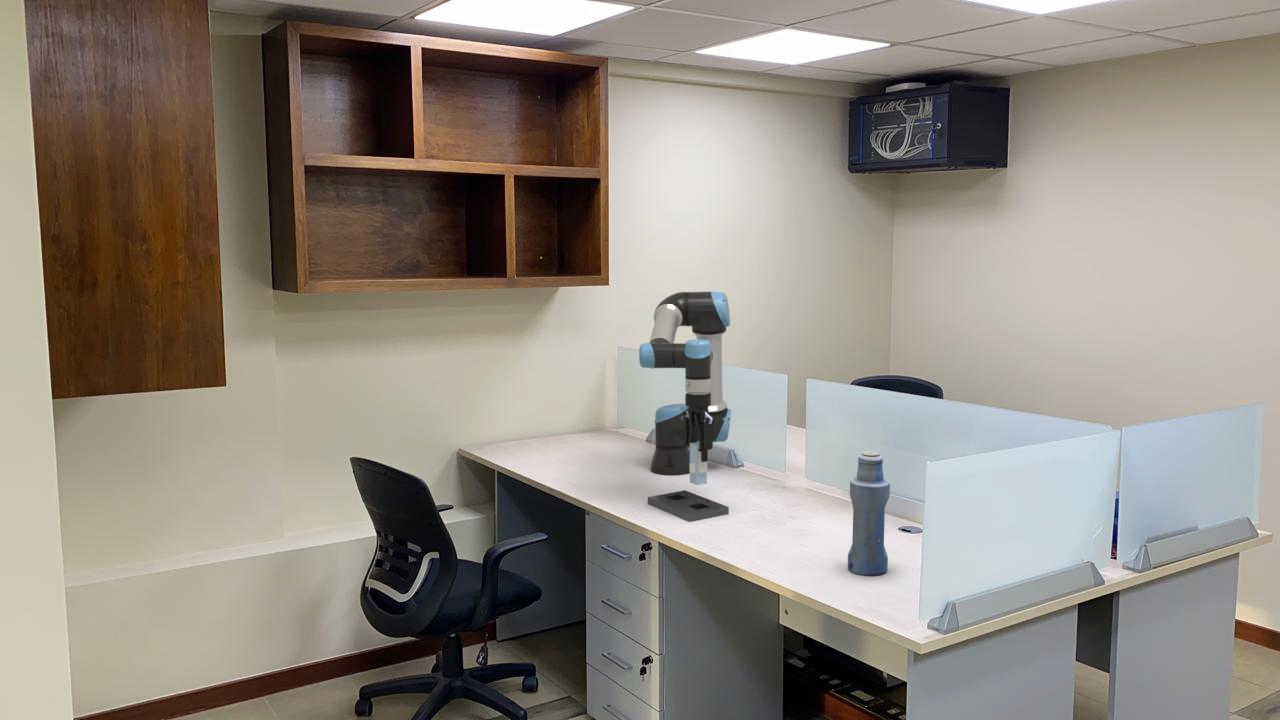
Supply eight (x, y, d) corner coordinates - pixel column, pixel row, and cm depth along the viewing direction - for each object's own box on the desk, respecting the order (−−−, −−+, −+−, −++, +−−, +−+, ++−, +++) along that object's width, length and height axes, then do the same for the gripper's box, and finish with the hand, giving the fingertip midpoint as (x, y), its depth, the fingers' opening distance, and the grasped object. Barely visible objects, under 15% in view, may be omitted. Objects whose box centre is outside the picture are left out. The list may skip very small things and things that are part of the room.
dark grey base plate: (685, 499, 316) (685, 490, 315) (728, 516, 296) (728, 506, 296) (647, 506, 308) (647, 497, 308) (690, 524, 289) (689, 514, 289)
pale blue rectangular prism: (699, 480, 298) (699, 441, 297) (706, 483, 295) (706, 443, 294) (688, 482, 296) (687, 443, 294) (695, 485, 293) (694, 445, 291)
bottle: (849, 561, 255) (851, 447, 251) (889, 565, 252) (891, 449, 248) (846, 574, 246) (847, 455, 242) (887, 577, 243) (889, 457, 239)
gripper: (671, 390, 297) (672, 467, 300) (704, 397, 283) (704, 478, 286) (692, 388, 301) (692, 463, 304) (725, 395, 287) (725, 474, 290)
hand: (698, 470), depth 295 cm, fingers closed on pale blue rectangular prism, 4 cm apart
